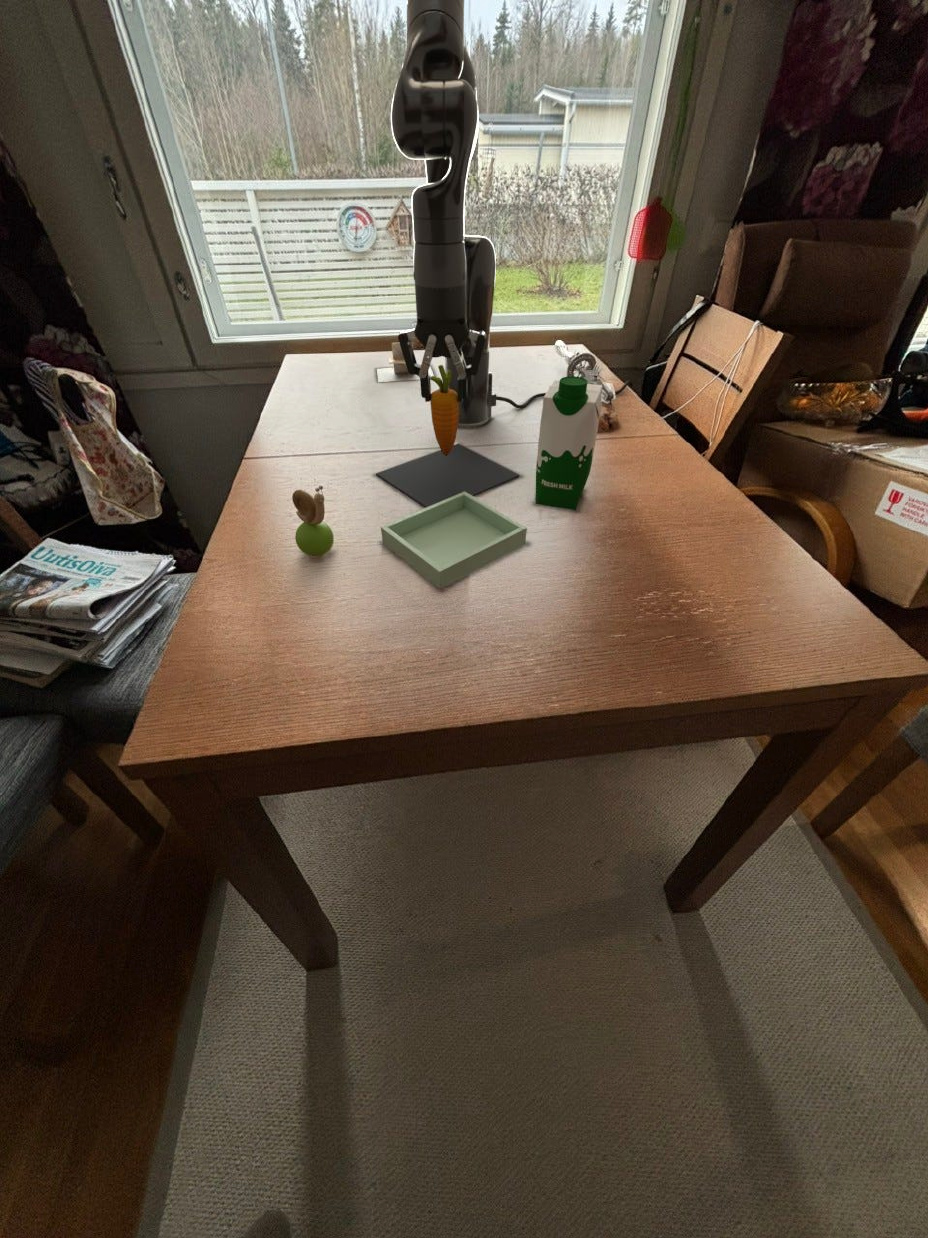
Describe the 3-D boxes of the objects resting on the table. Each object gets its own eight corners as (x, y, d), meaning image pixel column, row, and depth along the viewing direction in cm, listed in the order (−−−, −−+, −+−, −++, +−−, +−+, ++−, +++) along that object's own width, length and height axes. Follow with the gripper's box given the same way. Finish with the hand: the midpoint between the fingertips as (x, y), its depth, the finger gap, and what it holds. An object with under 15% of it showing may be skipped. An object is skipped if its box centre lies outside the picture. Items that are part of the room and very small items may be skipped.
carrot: (456, 463, 89) (455, 372, 79) (429, 460, 90) (424, 371, 80) (462, 451, 93) (461, 363, 82) (436, 448, 93) (432, 361, 83)
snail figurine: (323, 570, 73) (305, 496, 65) (292, 556, 76) (270, 483, 67) (349, 551, 76) (334, 478, 68) (318, 539, 79) (300, 467, 71)
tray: (464, 507, 86) (464, 491, 84) (525, 544, 77) (526, 527, 75) (382, 543, 78) (380, 526, 76) (440, 589, 70) (439, 571, 68)
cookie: (582, 411, 116) (584, 397, 114) (625, 421, 112) (628, 407, 110) (562, 425, 111) (564, 411, 108) (607, 436, 106) (610, 422, 104)
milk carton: (529, 506, 86) (540, 382, 72) (540, 481, 92) (552, 364, 78) (580, 514, 83) (601, 389, 70) (589, 488, 90) (610, 369, 76)
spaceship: (574, 332, 137) (550, 322, 133) (634, 389, 114) (608, 378, 111) (559, 361, 142) (536, 352, 138) (614, 421, 119) (588, 412, 116)
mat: (458, 445, 104) (458, 443, 103) (519, 476, 93) (519, 474, 93) (376, 475, 94) (375, 473, 94) (434, 513, 84) (433, 511, 84)
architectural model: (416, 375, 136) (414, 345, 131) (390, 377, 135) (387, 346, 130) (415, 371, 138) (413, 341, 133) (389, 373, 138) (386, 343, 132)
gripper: (491, 275, 75) (488, 393, 87) (396, 274, 76) (406, 391, 88) (488, 285, 70) (485, 410, 81) (386, 284, 71) (398, 407, 82)
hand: (444, 399), depth 84 cm, fingers closed on carrot, 5 cm apart
